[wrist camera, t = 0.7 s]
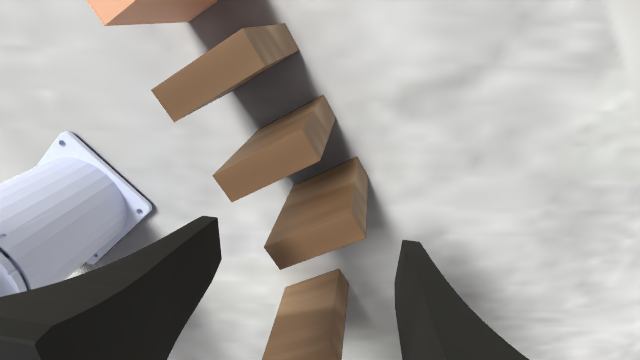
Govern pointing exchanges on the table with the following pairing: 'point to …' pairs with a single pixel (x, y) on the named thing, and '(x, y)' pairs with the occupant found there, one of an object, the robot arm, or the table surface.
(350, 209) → the domino
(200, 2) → the domino
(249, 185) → the domino
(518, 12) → the table surface
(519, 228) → the table surface
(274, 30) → the domino
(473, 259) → the table surface
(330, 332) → the domino
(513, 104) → the table surface
